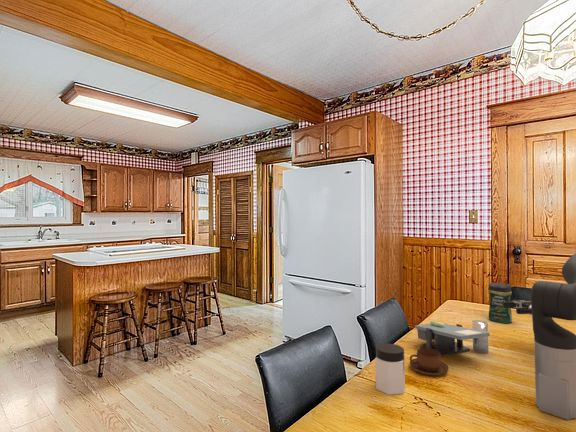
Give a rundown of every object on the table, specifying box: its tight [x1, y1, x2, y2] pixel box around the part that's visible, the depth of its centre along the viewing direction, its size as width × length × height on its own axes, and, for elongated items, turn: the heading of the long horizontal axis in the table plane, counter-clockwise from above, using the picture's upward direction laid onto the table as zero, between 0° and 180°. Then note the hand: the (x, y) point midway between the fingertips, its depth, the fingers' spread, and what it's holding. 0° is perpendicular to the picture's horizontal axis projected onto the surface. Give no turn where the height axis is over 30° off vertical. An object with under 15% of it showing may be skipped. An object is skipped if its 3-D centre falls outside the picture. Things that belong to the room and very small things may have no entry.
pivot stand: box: [419, 323, 471, 357], centre depth 131 cm, size 8×16×9 cm, turn 106°
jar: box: [374, 342, 406, 396], centre depth 102 cm, size 9×8×12 cm
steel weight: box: [471, 319, 490, 355], centre depth 129 cm, size 5×5×11 cm
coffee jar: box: [487, 282, 513, 324], centre depth 166 cm, size 10×8×19 cm
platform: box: [414, 320, 490, 342], centre depth 128 cm, size 25×12×7 cm, turn 16°
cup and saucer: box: [409, 348, 449, 376], centre depth 114 cm, size 12×12×6 cm
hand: (509, 307), depth 129 cm, fingers open, 8 cm apart
